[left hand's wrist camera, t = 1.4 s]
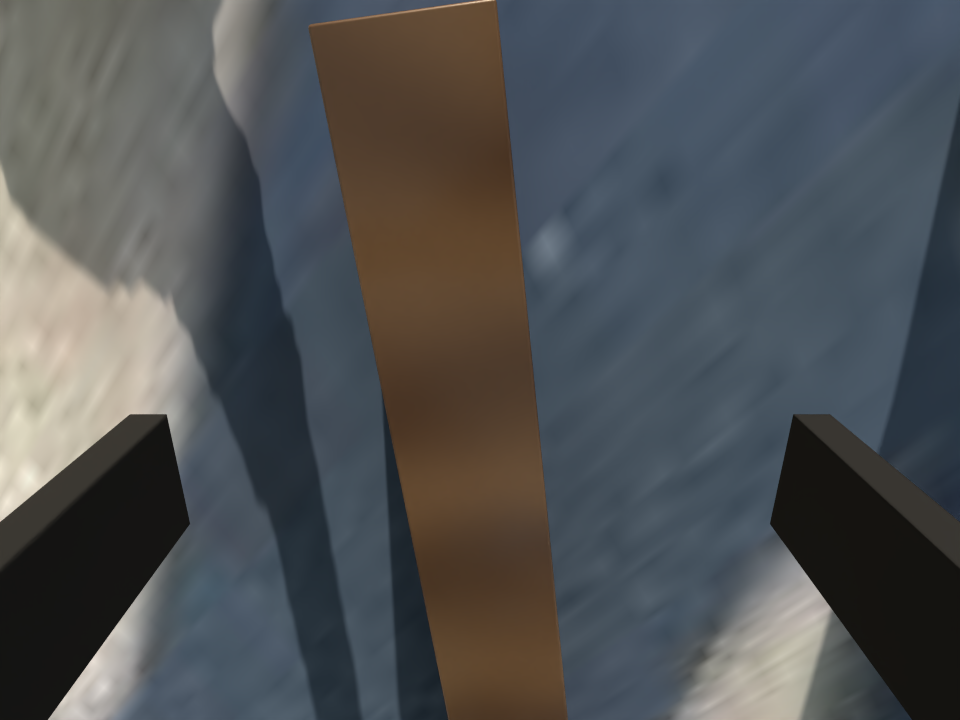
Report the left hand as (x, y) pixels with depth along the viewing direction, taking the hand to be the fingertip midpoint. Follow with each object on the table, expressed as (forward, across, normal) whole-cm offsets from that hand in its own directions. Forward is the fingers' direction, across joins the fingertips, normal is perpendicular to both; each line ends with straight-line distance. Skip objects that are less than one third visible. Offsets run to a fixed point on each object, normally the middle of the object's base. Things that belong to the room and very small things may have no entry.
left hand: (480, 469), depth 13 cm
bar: (+15, +1, -17) cm, 23 cm away
